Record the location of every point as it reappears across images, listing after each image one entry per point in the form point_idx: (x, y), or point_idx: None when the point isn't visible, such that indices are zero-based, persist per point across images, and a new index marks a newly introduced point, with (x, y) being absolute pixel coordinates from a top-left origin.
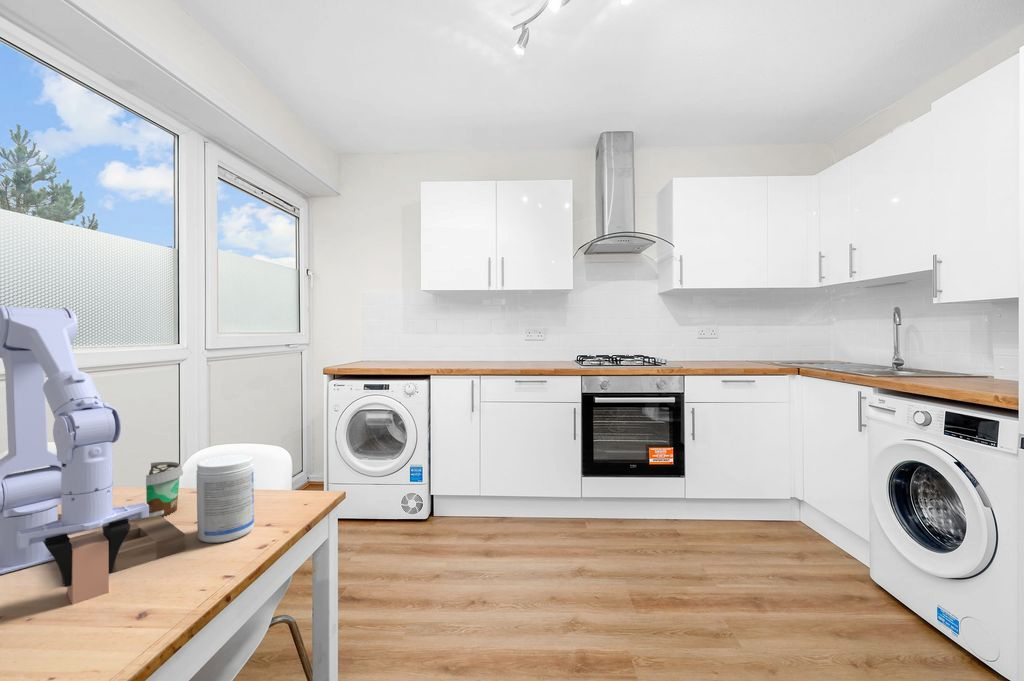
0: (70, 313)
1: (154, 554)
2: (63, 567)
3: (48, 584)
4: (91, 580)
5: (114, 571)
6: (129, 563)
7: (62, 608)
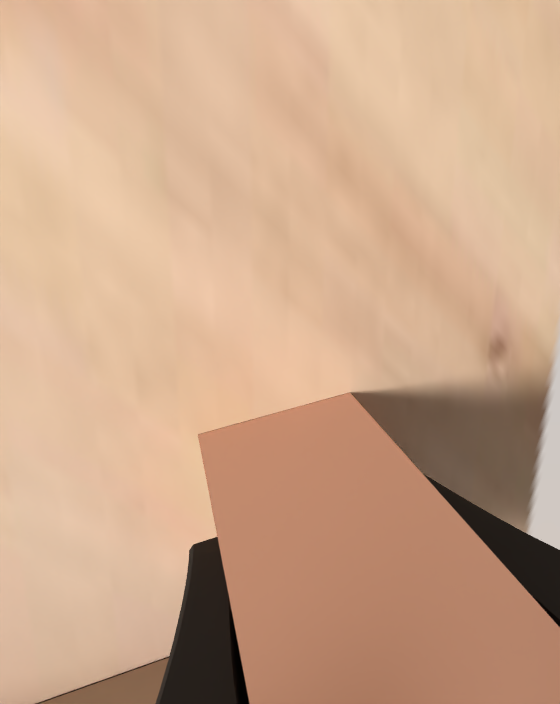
0: None
1: None
2: (544, 551)
3: None
4: (306, 477)
5: None
6: (113, 700)
7: (388, 377)
